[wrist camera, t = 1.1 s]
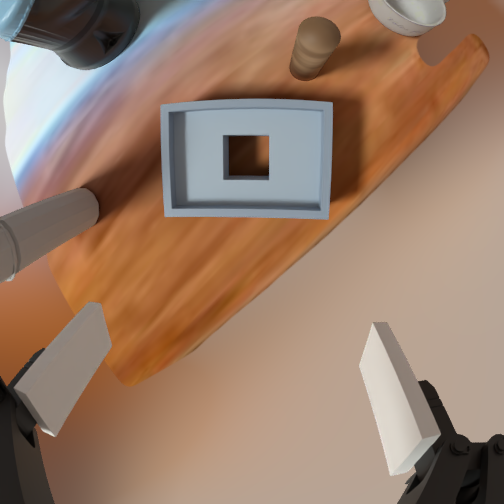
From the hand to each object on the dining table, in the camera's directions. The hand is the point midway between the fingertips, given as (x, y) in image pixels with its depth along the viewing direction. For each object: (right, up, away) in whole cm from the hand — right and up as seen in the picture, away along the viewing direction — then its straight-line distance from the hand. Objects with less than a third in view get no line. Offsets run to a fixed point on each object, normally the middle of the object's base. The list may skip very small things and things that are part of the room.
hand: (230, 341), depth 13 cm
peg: (+8, +29, +21) cm, 37 cm away
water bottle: (-28, +11, +30) cm, 43 cm away
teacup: (+24, +41, +15) cm, 50 cm away
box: (+1, +17, +26) cm, 31 cm away
